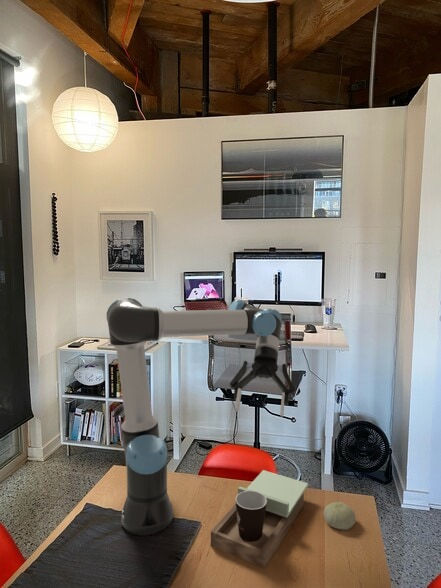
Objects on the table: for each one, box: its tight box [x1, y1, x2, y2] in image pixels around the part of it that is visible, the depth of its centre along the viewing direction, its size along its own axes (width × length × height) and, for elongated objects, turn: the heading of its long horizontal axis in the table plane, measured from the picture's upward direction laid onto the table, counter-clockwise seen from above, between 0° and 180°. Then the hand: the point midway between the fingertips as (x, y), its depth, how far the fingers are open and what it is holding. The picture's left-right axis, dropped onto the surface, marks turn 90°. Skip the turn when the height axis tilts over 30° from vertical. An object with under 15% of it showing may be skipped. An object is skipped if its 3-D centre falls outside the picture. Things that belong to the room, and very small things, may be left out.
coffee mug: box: [235, 490, 267, 542], centre depth 116 cm, size 12×9×10 cm
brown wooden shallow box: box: [210, 493, 305, 569], centre depth 122 cm, size 16×30×4 cm, turn 150°
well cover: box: [237, 469, 309, 518], centre depth 130 cm, size 16×19×4 cm
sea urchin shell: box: [323, 501, 357, 531], centre depth 123 cm, size 9×8×8 cm
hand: (258, 412), depth 124 cm, fingers open, 13 cm apart
